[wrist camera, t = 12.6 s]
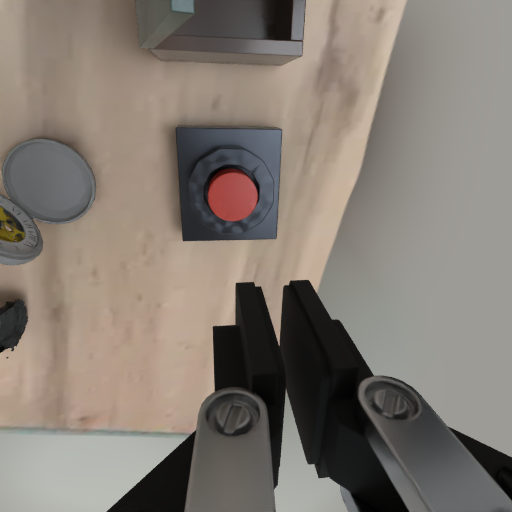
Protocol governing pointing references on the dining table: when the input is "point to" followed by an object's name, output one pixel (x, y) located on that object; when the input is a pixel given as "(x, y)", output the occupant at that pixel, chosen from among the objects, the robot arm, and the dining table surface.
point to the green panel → (160, 19)
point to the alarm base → (223, 157)
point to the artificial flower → (12, 324)
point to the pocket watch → (41, 195)
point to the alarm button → (232, 194)
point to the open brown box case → (238, 33)
